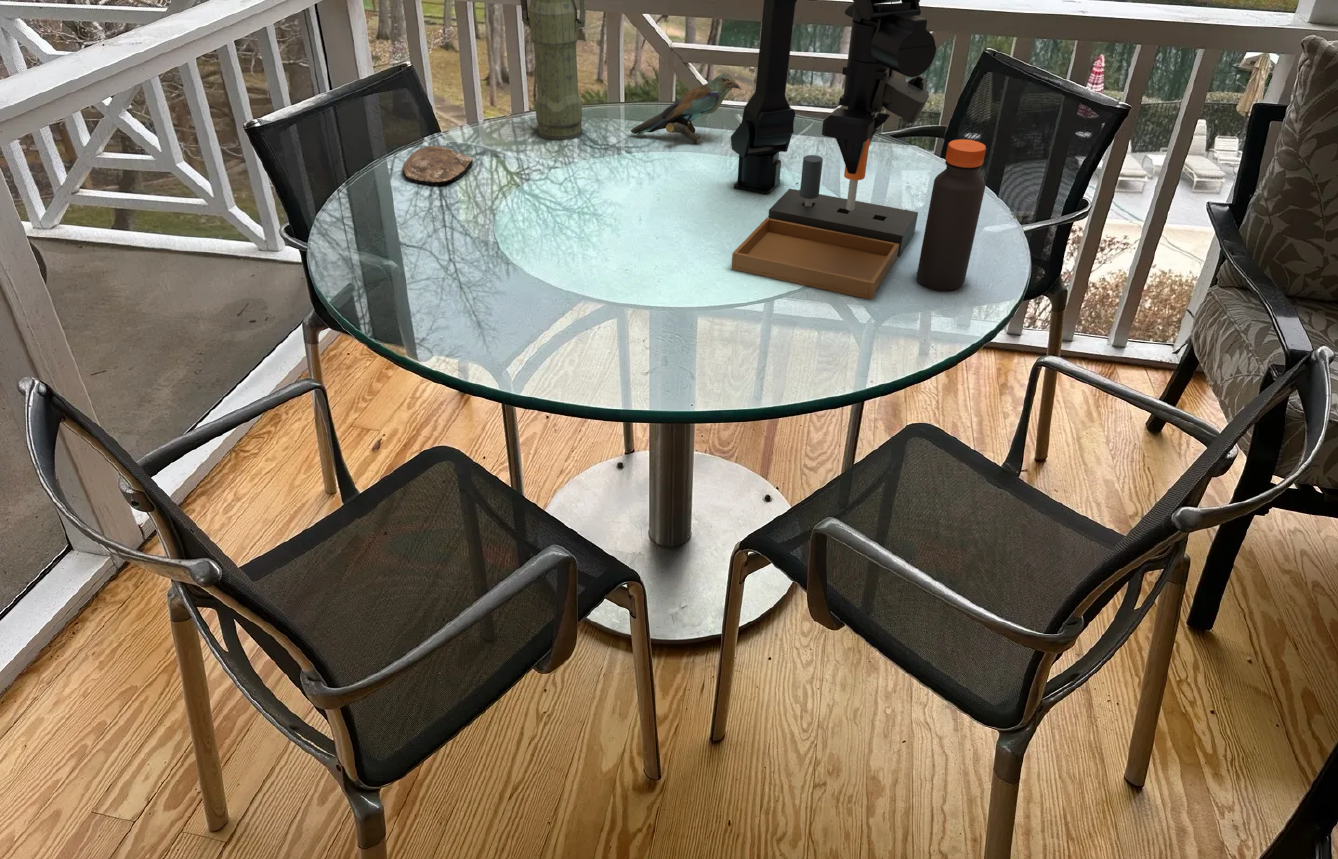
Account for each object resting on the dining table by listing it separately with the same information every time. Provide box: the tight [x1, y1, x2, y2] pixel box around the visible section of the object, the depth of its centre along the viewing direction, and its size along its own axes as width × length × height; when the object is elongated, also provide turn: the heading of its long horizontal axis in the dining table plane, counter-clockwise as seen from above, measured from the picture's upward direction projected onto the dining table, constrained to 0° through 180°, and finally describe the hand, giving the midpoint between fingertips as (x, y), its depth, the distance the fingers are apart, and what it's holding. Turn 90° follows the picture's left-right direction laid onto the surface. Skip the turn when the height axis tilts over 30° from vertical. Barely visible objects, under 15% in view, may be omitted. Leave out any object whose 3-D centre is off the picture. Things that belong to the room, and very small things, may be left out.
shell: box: [401, 145, 474, 186], centre depth 167 cm, size 12×13×4 cm
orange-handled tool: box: [843, 138, 871, 211], centre depth 136 cm, size 3×3×11 cm
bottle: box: [916, 138, 987, 292], centre depth 130 cm, size 7×7×20 cm
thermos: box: [519, 0, 586, 141], centre depth 176 cm, size 9×12×35 cm
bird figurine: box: [630, 72, 742, 145], centre depth 180 cm, size 13×10×20 cm
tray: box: [731, 217, 899, 301], centre depth 139 cm, size 21×14×3 cm
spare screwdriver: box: [799, 154, 824, 207], centre depth 148 cm, size 3×3×11 cm
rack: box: [767, 188, 919, 258], centre depth 149 cm, size 10×21×4 cm, turn 64°
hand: (854, 169), depth 136 cm, fingers closed on orange-handled tool, 3 cm apart
